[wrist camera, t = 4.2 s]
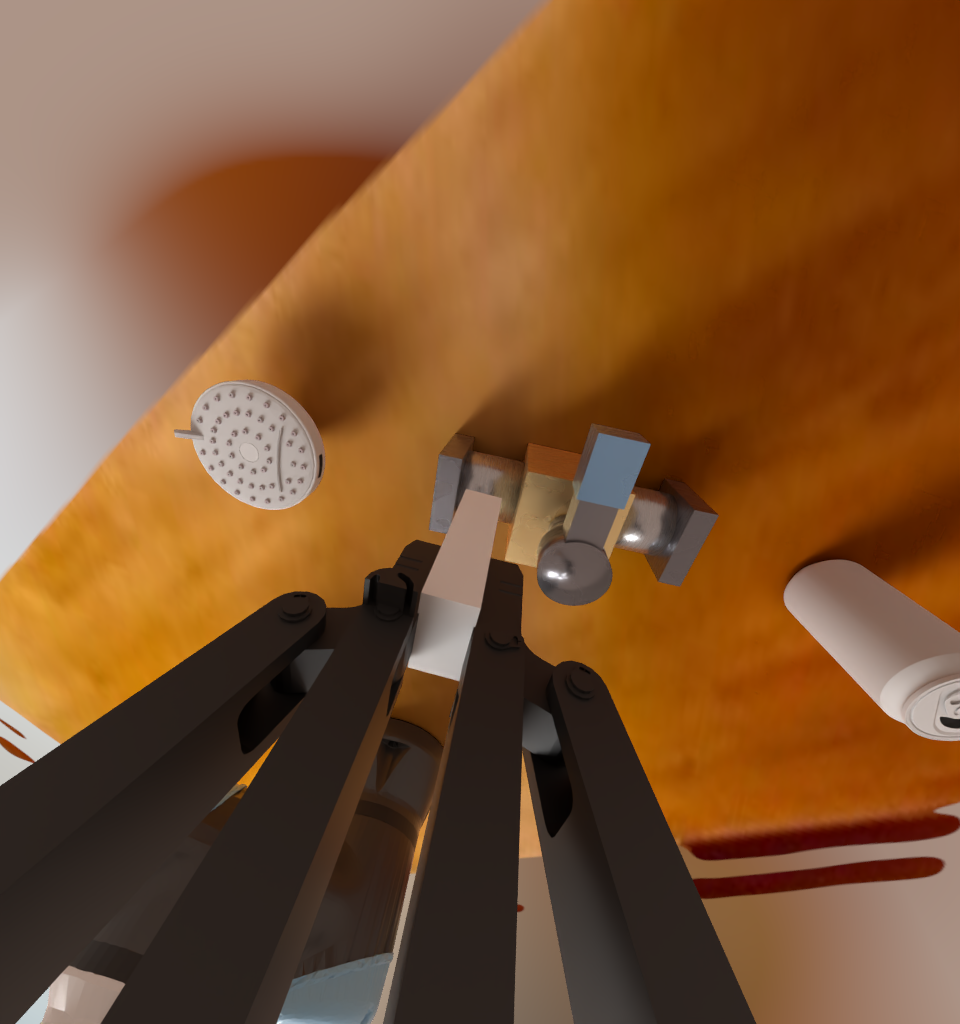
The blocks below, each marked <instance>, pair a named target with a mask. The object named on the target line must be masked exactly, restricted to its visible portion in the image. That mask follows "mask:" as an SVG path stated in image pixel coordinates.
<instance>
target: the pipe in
mask: <svg viewBox="0 0 960 1024" xmlns="http://www.w3.org/2000/svg"><path fill="white" fill-rule="evenodd" d="M474 438H475V437H471V436H467V435H462V434H457V433H455V435H454V436H453V437H452V439H451V440H450V441H449V442H448V444H447V445H446V446H445V448H444V449H443V450H442V451H441V453H440V454H439V460H438V467H437V475H436V482H435V489H434V496H433V504H432V511H431V518H430V525H429V530H432V531H436V532H441V533H445V534H447V532H448V530H449V527H450V525H451V523H452V520H453V518H454V516H455V513H456V511H457V509H458V506H459V504H460V502H461V499H462V497H463V495H464V493H465V490H466V489H468V490H472V491H476V492H480V493H484V494H488V495H492V496H496V497H499V498H502V501H501V506H500V511H499V516H498V521H500V522H505V523H509V524H511V523H512V520H513V517H514V514H515V510H516V506H517V502H518V498H519V494H520V489H521V485H522V480H523V475H524V468H525V462H521V461H517V460H512V459H508V458H503V457H498V456H494V455H489V454H485V453H480V452H476V451H472V449H473V444H474Z"/></svg>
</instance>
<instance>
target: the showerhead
mask: <svg viewBox="0 0 960 1024" xmlns="http://www.w3.org/2000/svg"><path fill="white" fill-rule="evenodd" d="M174 433H175V437H179V438H186V439H192V440H193V444H194V448H195V450H196V452H197V455H198V457H199V459H200V461H201V463H202V464H203V466H204V467H205V469H206V471H207V472H208V473H209V474H210V476H211V477H212V478H213V479H214V481H215V482H216V483H217V484H219V485H220V486H221V487H222V488H223V489H224V490H225V491H226V492H228V493H229V494H231V495H232V496H233V497H235V498H237V499H238V500H240V501H242V502H244V503H247V504H249V505H251V506H254V507H258V508H262V509H269V510H279V509H285V508H289V507H292V506H294V505H296V504H298V503H300V502H301V501H302V500H304V499H305V498H306V497H307V496H309V495H310V494H311V493H312V492H313V491H314V490H315V489H316V488H317V486H318V485H319V483H320V481H321V479H322V476H323V473H324V469H325V451H324V445H323V442H322V438H321V436H320V433H319V431H318V429H317V427H316V425H315V423H314V421H313V420H312V418H311V417H310V416H309V414H308V413H307V412H306V410H305V409H304V408H303V407H302V406H301V405H300V404H299V403H298V402H297V401H296V400H295V399H294V398H292V397H291V396H290V395H288V394H287V393H285V392H284V391H282V390H281V389H279V388H277V387H275V386H273V385H270V384H267V383H264V382H261V381H256V380H237V381H227V382H222V383H219V384H216V385H214V386H212V387H210V388H208V389H207V390H206V391H205V392H204V393H203V394H202V395H201V396H200V397H199V398H198V400H197V402H196V404H195V406H194V408H193V412H192V416H191V431H189V430H174Z"/></svg>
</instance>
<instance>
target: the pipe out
mask: <svg viewBox="0 0 960 1024" xmlns="http://www.w3.org/2000/svg"><path fill="white" fill-rule="evenodd" d="M632 490H633V491H634V493H635V494H636V495H635V498H634V500H633V503H632V505H631V507H630V510H629V512H628V515H627V517H626V519H625V522H624V524H623V527H622V529H621V531H620V534H619V536H618V539H617V541H616V543H615V546H614V547H616V548H621V549H625V550H630V551H634V552H639V553H643V554H644V555H645V557H646V559H647V561H648V563H649V565H650V567H651V569H652V570H653V572H654V574H655V576H656V578H657V580H658V582H662V583H667V584H671V585H676V586H680V585H681V584H682V582H683V580H684V578H685V576H686V574H687V573H688V571H689V569H690V567H691V565H692V563H693V562H694V560H695V558H696V556H697V554H698V552H699V551H700V549H701V547H702V545H703V543H704V541H705V540H706V538H707V536H708V534H709V532H710V530H711V529H712V527H713V525H714V523H715V521H716V520H717V518H718V516H719V515H718V514H717V513H716V512H715V511H714V510H713V509H712V508H711V507H709V506H708V505H707V504H706V503H705V502H704V501H703V500H702V499H701V498H700V497H699V496H698V495H697V494H696V493H695V492H694V491H693V490H692V489H691V488H689V487H688V486H687V485H686V484H685V483H684V482H679V481H674V480H670V479H664V481H663V483H662V486H661V488H660V490H659V491H655V490H650V489H645V488H641V487H636V486H634V487H633V489H632Z"/></svg>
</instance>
